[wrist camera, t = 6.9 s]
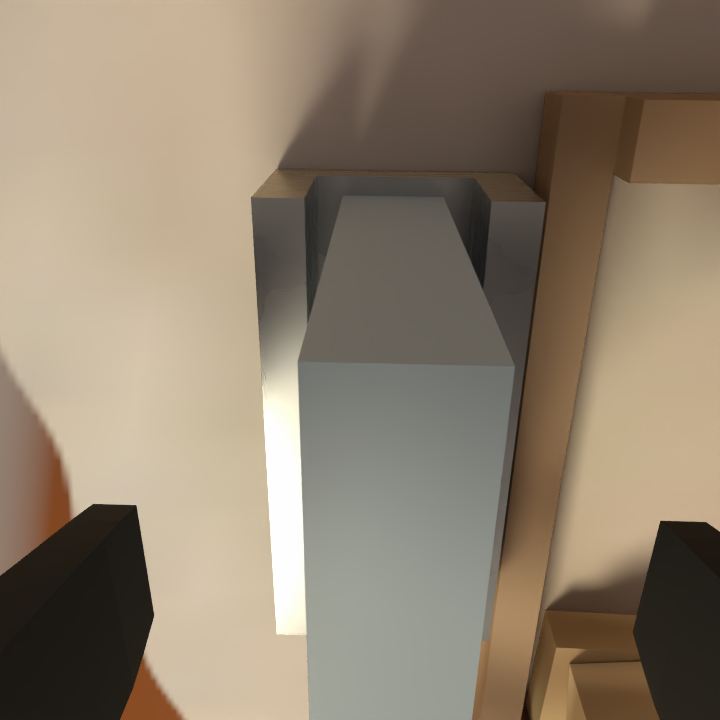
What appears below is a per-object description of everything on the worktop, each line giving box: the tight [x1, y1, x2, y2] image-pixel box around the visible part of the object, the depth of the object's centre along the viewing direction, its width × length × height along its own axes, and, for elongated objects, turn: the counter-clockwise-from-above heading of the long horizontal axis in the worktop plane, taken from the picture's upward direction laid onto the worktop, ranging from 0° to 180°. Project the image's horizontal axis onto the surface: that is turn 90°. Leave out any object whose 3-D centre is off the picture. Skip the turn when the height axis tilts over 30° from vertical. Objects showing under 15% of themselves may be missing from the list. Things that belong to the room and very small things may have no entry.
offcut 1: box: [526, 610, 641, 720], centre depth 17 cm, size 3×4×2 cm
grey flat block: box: [298, 195, 515, 720], centre depth 10 cm, size 2×8×7 cm, turn 0°
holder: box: [251, 169, 546, 641], centre depth 13 cm, size 9×4×3 cm, turn 179°
